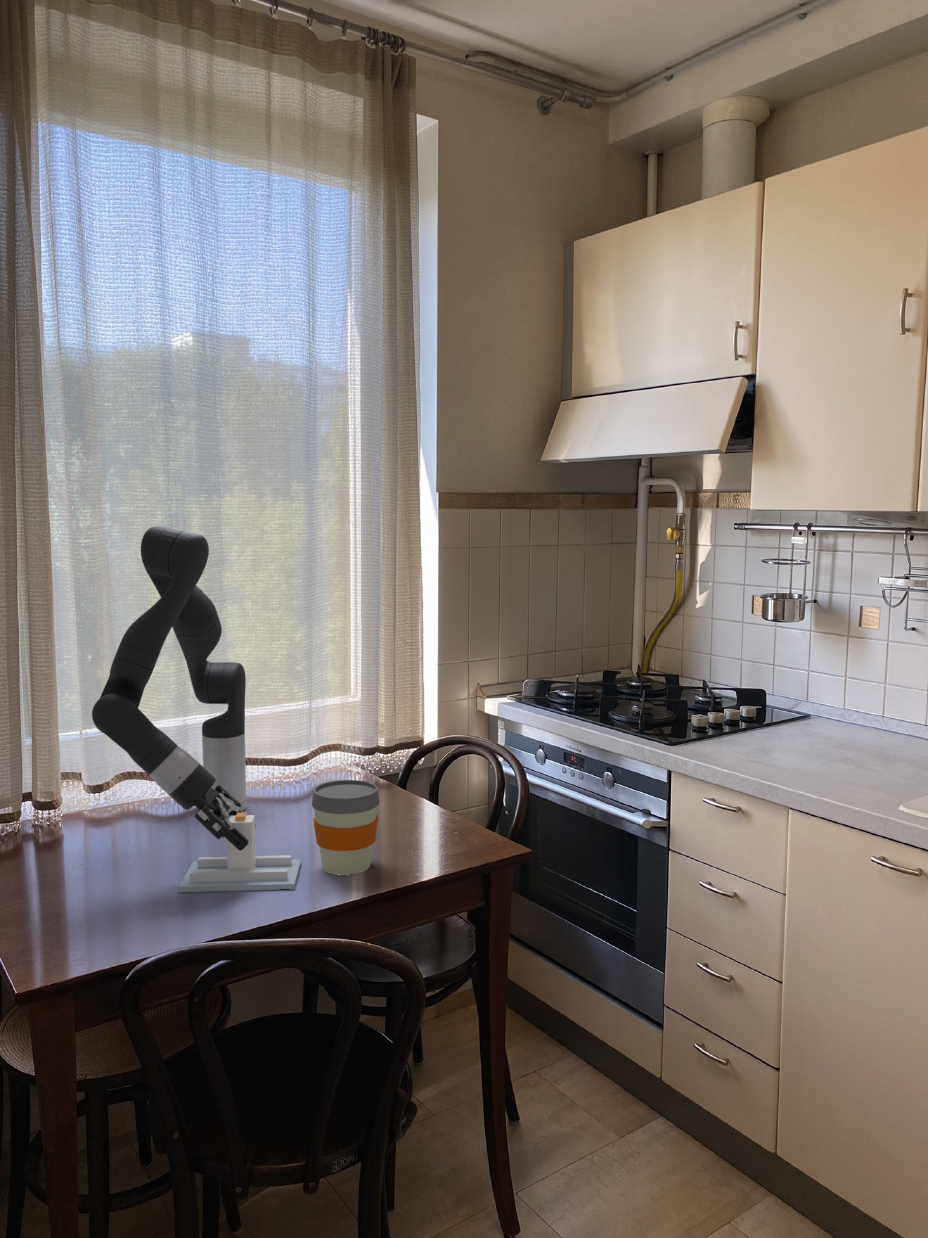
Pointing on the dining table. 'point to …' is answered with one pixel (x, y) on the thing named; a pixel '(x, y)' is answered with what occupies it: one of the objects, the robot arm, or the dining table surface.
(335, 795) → the reusable coffee cup
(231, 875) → the mounting board
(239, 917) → the dining table surface
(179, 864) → the dining table surface
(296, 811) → the dining table surface
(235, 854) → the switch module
